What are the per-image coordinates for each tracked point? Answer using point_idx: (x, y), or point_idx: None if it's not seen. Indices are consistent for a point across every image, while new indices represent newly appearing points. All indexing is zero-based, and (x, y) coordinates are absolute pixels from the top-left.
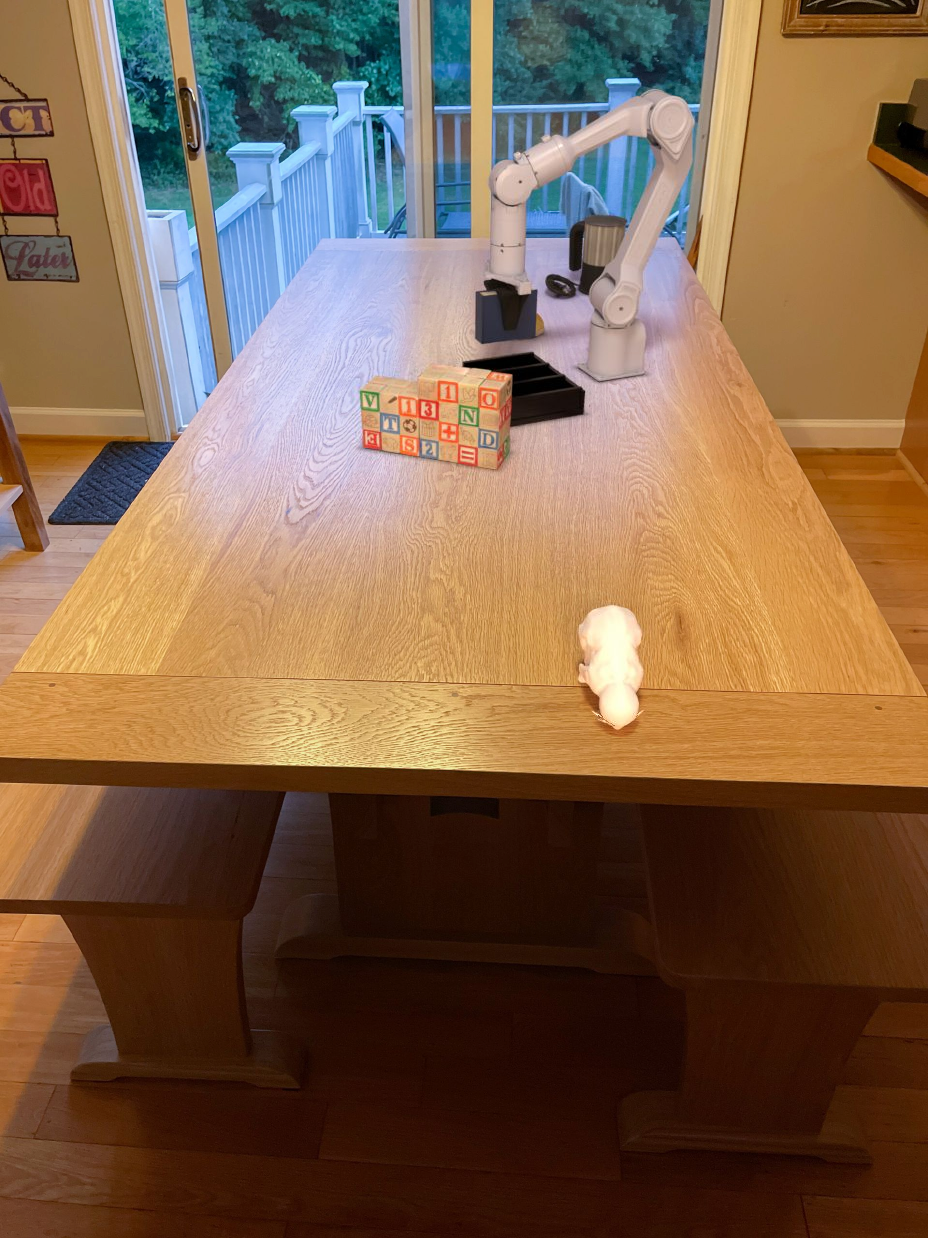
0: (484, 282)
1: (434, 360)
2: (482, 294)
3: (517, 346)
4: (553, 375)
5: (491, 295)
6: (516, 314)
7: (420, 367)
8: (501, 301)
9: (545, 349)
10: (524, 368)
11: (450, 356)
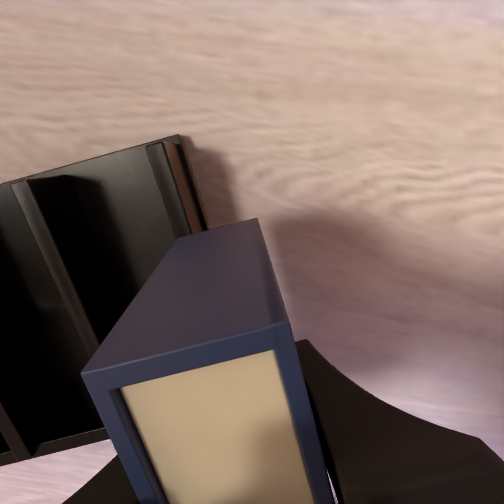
0: (439, 473)
1: (438, 77)
2: (205, 375)
3: (482, 353)
4: (12, 430)
5: (122, 457)
6: None
7: (382, 12)
8: (102, 488)
9: (437, 417)
10: (89, 356)
11: (460, 141)
